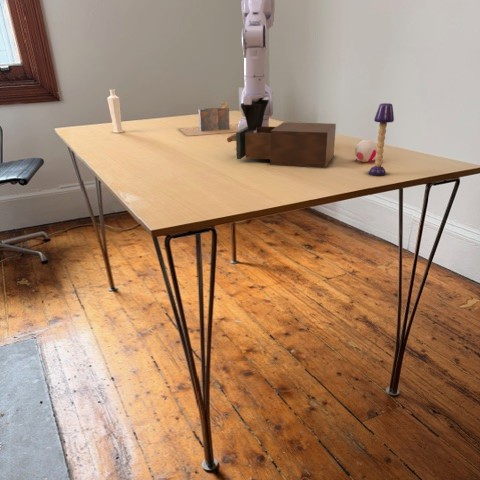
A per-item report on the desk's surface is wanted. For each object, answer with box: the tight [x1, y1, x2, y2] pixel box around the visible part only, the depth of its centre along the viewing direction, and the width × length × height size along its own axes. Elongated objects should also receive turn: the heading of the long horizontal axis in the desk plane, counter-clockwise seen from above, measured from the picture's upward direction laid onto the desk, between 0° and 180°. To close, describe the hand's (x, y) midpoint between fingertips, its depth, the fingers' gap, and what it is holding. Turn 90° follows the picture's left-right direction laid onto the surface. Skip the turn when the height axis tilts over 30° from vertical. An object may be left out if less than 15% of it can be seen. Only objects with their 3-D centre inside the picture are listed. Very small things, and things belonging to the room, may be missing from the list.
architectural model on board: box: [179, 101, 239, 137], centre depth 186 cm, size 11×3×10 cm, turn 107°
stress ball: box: [354, 139, 377, 163], centre depth 136 cm, size 8×8×7 cm
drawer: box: [226, 126, 276, 160], centre depth 142 cm, size 19×13×7 cm
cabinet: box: [269, 121, 337, 168], centre depth 138 cm, size 16×15×9 cm
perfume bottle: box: [106, 88, 124, 134], centre depth 185 cm, size 5×4×15 cm
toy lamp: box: [368, 102, 395, 176], centre depth 121 cm, size 5×5×17 cm
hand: (255, 128), depth 140 cm, fingers open, 5 cm apart
